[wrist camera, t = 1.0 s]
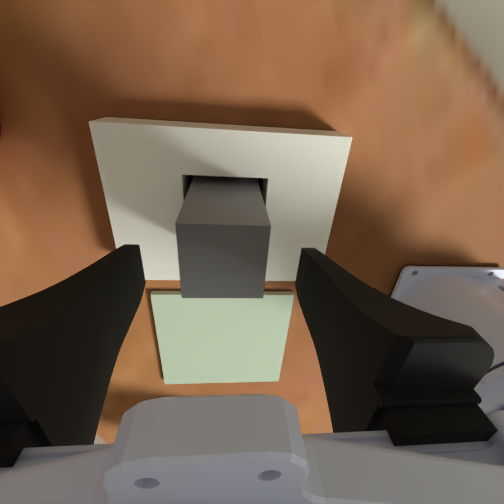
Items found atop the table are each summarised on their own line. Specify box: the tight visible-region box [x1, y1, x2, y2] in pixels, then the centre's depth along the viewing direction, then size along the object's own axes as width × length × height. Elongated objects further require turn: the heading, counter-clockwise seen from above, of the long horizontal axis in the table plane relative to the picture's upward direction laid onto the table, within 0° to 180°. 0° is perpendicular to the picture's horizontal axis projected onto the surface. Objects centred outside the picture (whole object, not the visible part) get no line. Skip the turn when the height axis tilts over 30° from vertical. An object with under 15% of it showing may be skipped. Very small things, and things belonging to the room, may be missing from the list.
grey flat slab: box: [88, 117, 352, 281], centre depth 18 cm, size 14×10×2 cm
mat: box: [150, 291, 294, 384], centre depth 26 cm, size 12×12×1 cm
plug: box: [175, 175, 271, 298], centre depth 16 cm, size 4×4×8 cm
